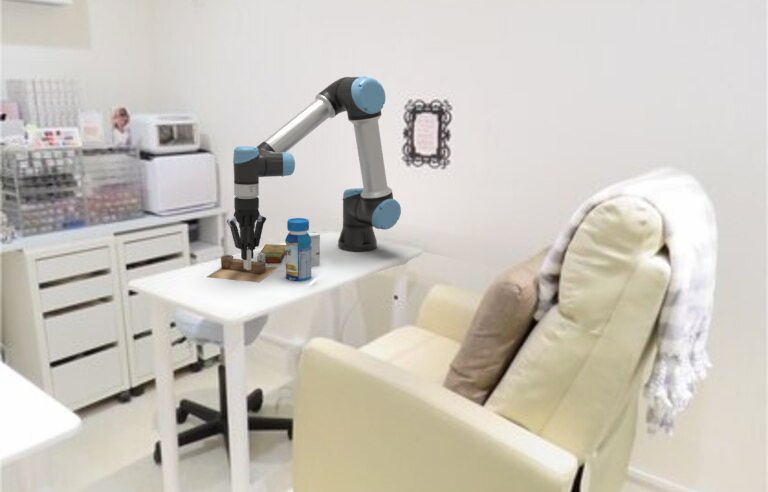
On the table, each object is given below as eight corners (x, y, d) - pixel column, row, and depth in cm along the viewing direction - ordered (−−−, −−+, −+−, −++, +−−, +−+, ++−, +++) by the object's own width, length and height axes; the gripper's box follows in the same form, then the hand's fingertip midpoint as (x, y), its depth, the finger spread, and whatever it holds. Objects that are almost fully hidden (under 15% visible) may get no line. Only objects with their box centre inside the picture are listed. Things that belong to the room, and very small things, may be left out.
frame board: (278, 270, 198) (278, 267, 198) (259, 285, 183) (259, 282, 183) (228, 266, 202) (228, 263, 201) (206, 280, 186) (205, 277, 186)
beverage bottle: (311, 285, 185) (311, 223, 180) (284, 285, 184) (283, 222, 179) (312, 276, 193) (312, 217, 188) (286, 276, 192) (285, 216, 187)
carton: (287, 255, 218) (287, 244, 217) (281, 268, 202) (281, 256, 201) (265, 254, 218) (265, 243, 217) (256, 267, 202) (256, 255, 201)
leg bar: (218, 267, 195) (218, 255, 194) (226, 264, 199) (225, 252, 197) (259, 274, 189) (259, 262, 188) (266, 271, 193) (266, 259, 192)
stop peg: (266, 267, 198) (266, 252, 197) (264, 269, 196) (263, 254, 194) (260, 266, 198) (259, 252, 197) (257, 268, 196) (256, 254, 195)
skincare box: (304, 271, 199) (304, 236, 196) (298, 267, 202) (298, 233, 199) (320, 268, 202) (320, 234, 199) (314, 265, 206) (314, 231, 202)
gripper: (233, 200, 177) (235, 275, 183) (270, 196, 185) (270, 268, 191) (221, 196, 182) (223, 269, 188) (258, 193, 191) (259, 262, 197)
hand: (247, 268), depth 190 cm, fingers closed
